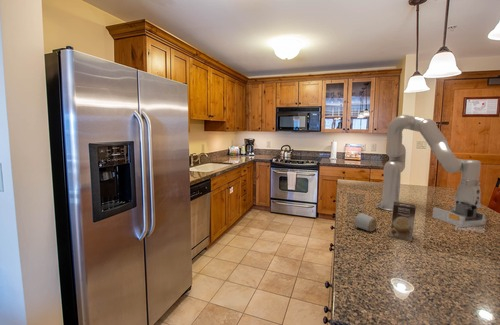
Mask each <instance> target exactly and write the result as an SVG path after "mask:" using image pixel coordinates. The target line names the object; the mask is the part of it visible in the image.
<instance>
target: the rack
mask: <svg viewBox="0 0 500 325" xmlns="http://www.w3.org/2000/svg"><path fill="white" fill-rule="evenodd" d="M455 210H456V205H451V210H446V209H443V208H440V207H437V206H434V207H433V209H432V218H434V219H436V220H440V221H443V222H445V223H448V224H451V225H454V226H456V227H459V228H468V227H477V226H483V225H485V217H486V214H485V213H482V212H478V211H477V212H476V218H475V219H466V220H465V216H463V215H459V214H456V213H455Z"/></svg>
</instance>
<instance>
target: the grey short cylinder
mask: <svg viewBox="0 0 500 325" xmlns="http://www.w3.org/2000/svg"><path fill="white" fill-rule="evenodd" d="M354 220H355V221H354V225H355V228H359V229H361V230H364V231H367V232H373V231H375V229H376V228H377V226H378V225H377V222H378V221H377V220H376V218H374V217H372V216H370V215H367V214H365V213H362V212H360V213H358V214H357V215H356V217H355V219H354Z"/></svg>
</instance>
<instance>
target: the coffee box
mask: <svg viewBox="0 0 500 325" xmlns="http://www.w3.org/2000/svg"><path fill="white" fill-rule="evenodd" d="M416 209H417V207H416V205H415V204H412V203H405V202H400V201H399V202H394V205H393V211H392V213H391V214H392V216H391V223H390V232H389V237H390V238H394V239H399V240H403V241H410V242H412V241H413V234H414V224H415V216H416Z"/></svg>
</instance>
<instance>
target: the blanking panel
mask: <svg viewBox="0 0 500 325" xmlns="http://www.w3.org/2000/svg"><path fill="white" fill-rule="evenodd" d="M476 205H477V204H475V206H476ZM455 206H456V210H455V213H456V214H459V215H463V216H465V220H466V219H475V218H476V212H478V208H476V209H475V210H474V213H473V216H472V217H467V214H468V210H469V204H467V203H456V202H455Z"/></svg>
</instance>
